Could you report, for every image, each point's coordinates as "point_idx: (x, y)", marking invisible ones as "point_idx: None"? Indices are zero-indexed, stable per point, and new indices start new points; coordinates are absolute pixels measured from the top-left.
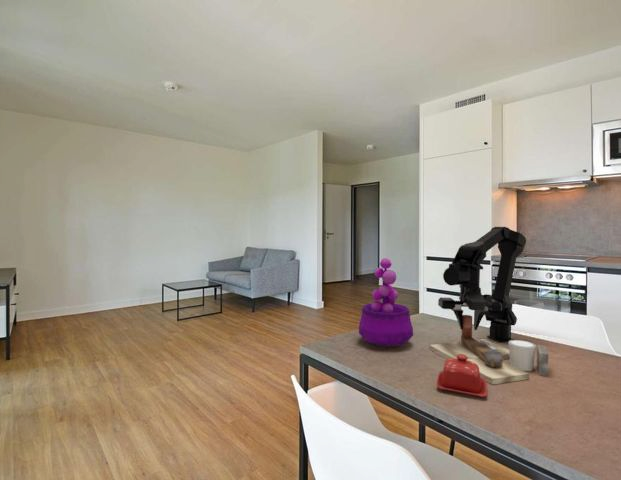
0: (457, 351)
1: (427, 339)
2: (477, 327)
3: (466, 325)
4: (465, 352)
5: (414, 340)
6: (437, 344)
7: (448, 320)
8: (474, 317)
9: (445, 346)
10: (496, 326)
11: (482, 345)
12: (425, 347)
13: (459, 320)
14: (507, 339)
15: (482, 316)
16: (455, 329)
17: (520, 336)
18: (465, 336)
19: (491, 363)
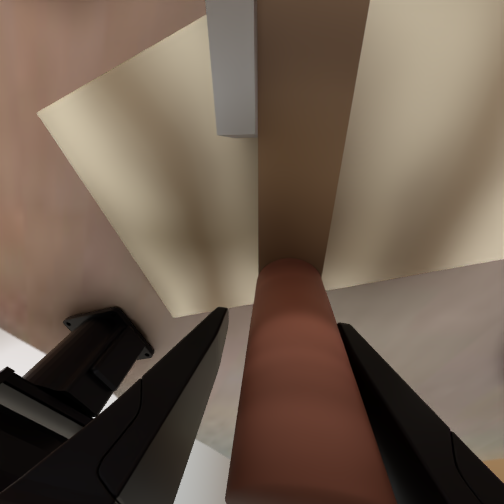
0: (438, 119)
1: (400, 352)
2: (204, 321)
3: (326, 342)
4: (386, 99)
5: (473, 347)
6: (470, 259)
7: (226, 452)
8: (184, 461)
9: (447, 225)
10: (82, 378)
11: (264, 59)
12: (500, 269)
13: (449, 428)
14: (85, 320)
15: (40, 474)
16: (235, 409)
17: (49, 349)
18: (313, 270)
19: None
